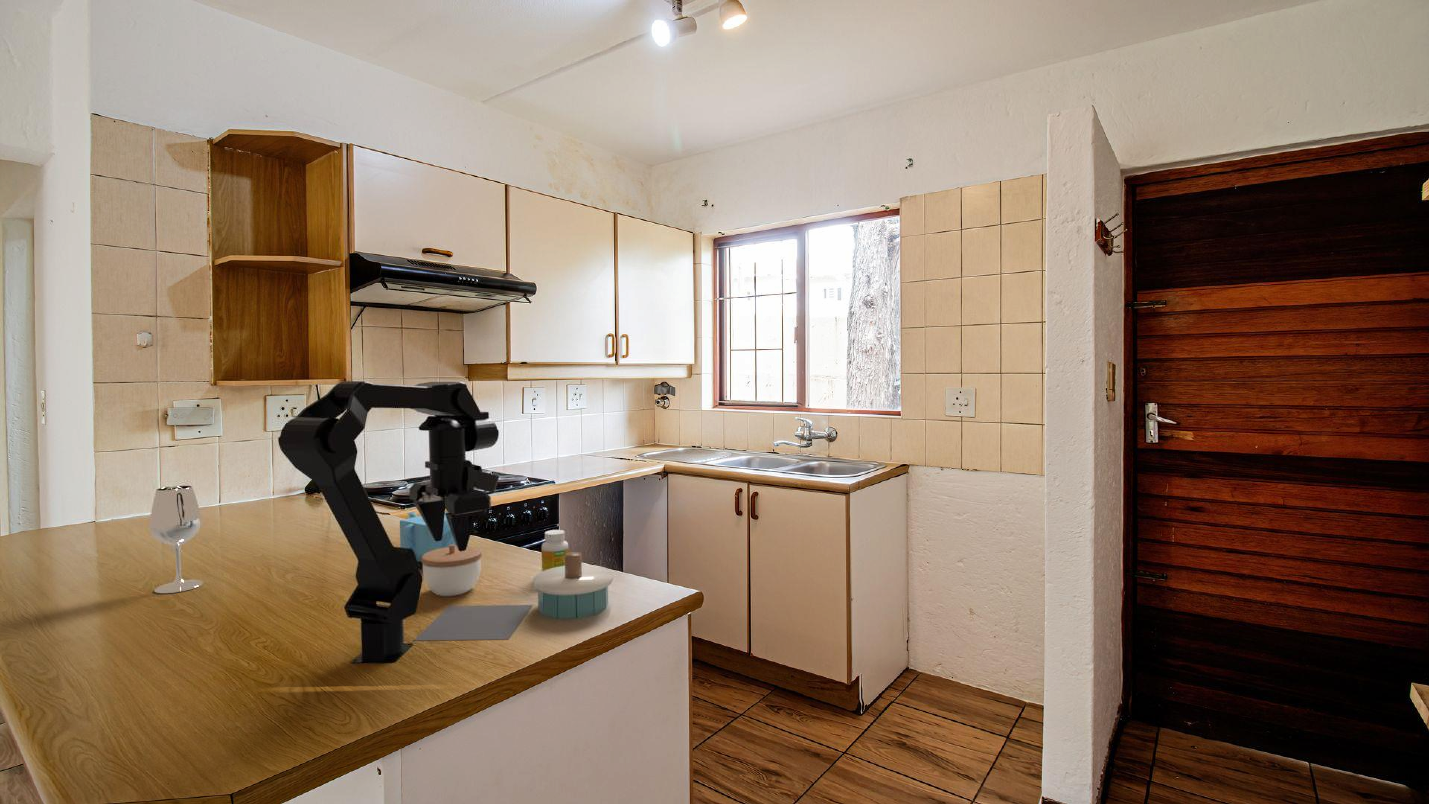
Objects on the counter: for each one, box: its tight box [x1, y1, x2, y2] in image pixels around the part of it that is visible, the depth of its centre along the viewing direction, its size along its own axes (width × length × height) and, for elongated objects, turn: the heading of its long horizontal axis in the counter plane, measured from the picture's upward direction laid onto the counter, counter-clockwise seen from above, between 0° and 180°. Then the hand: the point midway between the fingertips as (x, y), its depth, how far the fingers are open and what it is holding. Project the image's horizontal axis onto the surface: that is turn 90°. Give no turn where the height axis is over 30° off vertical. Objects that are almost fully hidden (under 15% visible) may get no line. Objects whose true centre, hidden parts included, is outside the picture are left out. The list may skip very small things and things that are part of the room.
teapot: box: [399, 511, 469, 563], centre depth 149 cm, size 16×18×11 cm
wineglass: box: [149, 485, 204, 594], centre depth 130 cm, size 8×8×20 cm
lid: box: [532, 551, 614, 595], centre depth 118 cm, size 14×14×5 cm
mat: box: [412, 604, 533, 642], centre depth 111 cm, size 15×15×1 cm
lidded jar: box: [421, 544, 482, 597], centre depth 127 cm, size 11×11×9 cm
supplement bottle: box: [541, 529, 570, 572], centre depth 135 cm, size 5×5×10 cm
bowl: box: [537, 586, 609, 620], centre depth 118 cm, size 12×12×5 cm
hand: (450, 545), depth 112 cm, fingers open, 9 cm apart
